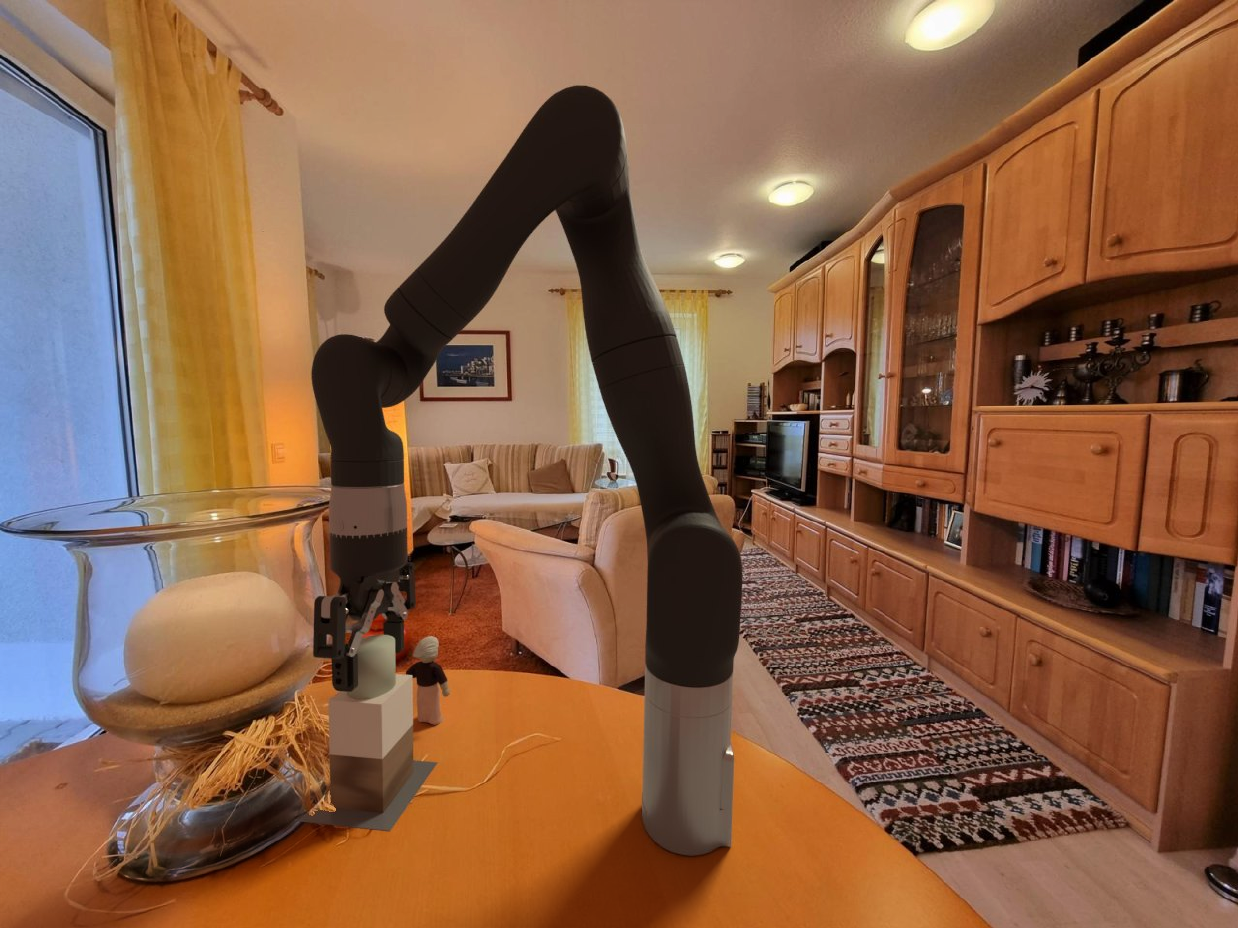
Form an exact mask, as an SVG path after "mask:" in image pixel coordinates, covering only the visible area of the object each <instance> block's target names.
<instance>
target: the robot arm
mask: <svg viewBox="0 0 1238 928" xmlns="http://www.w3.org/2000/svg"><path fill="white" fill-rule="evenodd" d="M624 128H625V127H624V123H623V120H622V117H621V114H620V111H619V109H618V107H617V106H616V104H615V103H614V101H613V100H612V99H611V98H610V97H609V96H608V95H606V94H605V92H604V91H601V90H599V89H598V88H596V87H593V86H588V85H572V86H569V87H565V88H563V89H561V90H559V91H557V92H555V93H554V94H552V95H551V96H550V97H549V98H547V99H546V100H545V101H544V102H543V104H541V106H540V107H539V108H538V109H537V111H536V112H535V113H534V115H533V116H532V117H531V119H530V120H529V122H528V123H527V124H526V126H525V127H524V128H523V130H522V132H521V133H520V135H519V136H518V138H517V139H516V140H515V142H514V143H513V145H512V147H511V148H510V149H509V151H508V152H507V154H506V156H504V159H503V160H502V162H501V163H500V164H499V165H498V167H497V169H496V170H495V171H494V172H493V174H492V175H491V177H490V179H489V180H488V182H486V184H485V185H484V187H483V189H481V191H480V192H479V194H478V195H477V196H476V198H475V199H474V201H473V202H472V204H471V205H470V207H469V208H468V209H467V210H466V212H465V213H464V214H463V215H462V217H461V218H460V220H459V221H458V222H457V224H456V225H455V227H454V228H453V229H452V230H451V231H450V232H449V234H448V235H447V236H446V237H445V238H444V239H443V241H442V242H441V243H439V245H438V246H437V247H436V248H435V249H434V251H433V252H431V253H430V255H428V256H427V257H426V258H425V259H424V260H423V261H422V263H421V264H419V265H418V267H416V269H415V270H414V271H412V272H411V274H410V275H408V277H407V278H406V279H405V280H404V281H403V282H402V283H401V284H400V285H399V286H398V287H397V288H396V289H395V290H394V291H393V292H392V293H391V294H390V296H389V297H388V299H387V300H386V302H385V304H384V307H383V310H384V311H383V312H384V313H383V314H384V316H385V318H386V320H387V322H388V323H389V325H388V327H387V329H386V330H385V332H384V333H383V335H382V336H381V337H380V338H379V339H377V341H374V340H371V339H368V338H364V337H362V336H359V335H354V334H346V333H345V334H343V333H342V334H336V335H333V336H331V337H328V338H327V339H326V340H325V341H323V342H322V343H321V345H320V346H319V347H318V349H317V351H316V353H315V355H314V358H313V361H312V364H311V366H312V367H311V374H310V376H311V385H312V391H313V394H314V398H315V402H316V405H317V408H318V412H319V416H320V419H321V422H322V425H323V428H324V429H323V430H324V431H325V434H326V437H327V440H328V442H329V445H330V485H331V487H330V498H329V502H328V503H329V504H328V525H329V527H328V530H329V565H330V566H329V568H330V571H331V572H332V573H333V574H335V575H337V577H338V579H339V587H338V590H337V593H335V594H333V595H330V596H327V595H318V596H317V597H316V598H315V600H314V603H313V640H312V641H313V647H312V648H313V649H312V656H313V657H314V658H317V659H330V660H331V678H332V679H331V683H332V684H331V685H332V688H333V689H334V690H335V691H337V692H339V691H345V692H351V691H353V690H354V689H355V688H356V687H357V686H358V654H356V652H357V649H358V646H359V644H360V641H361V638H363V636H364V635H366V634H367V633H368V632H369V631H370V629H371V626H372V623H373V621H374V620H376V619H377V618H378V616H379V615H382V617H383V618H384V619H385V621H383V623H382V624H383V625H382V626H383V627H382V629H383V631H382V632H383V634H382V635H389V636H392V637H394V638H395V654H400V653H401V652H402V651H404V650H405V620H407V618H408V617H409V616H408V615H409V610H414V609H415V607H416V605H417V603H416V601H417V599H416V596H417V595H416V579H415V577H416V576H415V575H416V574H415V563H414V562H408V559H409V556H408V555H409V553H408V547H409V546H408V504H407V503H408V502H407V501H408V500H407V495H406V490H405V451H404V442H403V439H402V437H400V435H399V434H398V433H396V432H394V431H393V430H390V429H389V428H388V427H387V425H386V419H385V415H384V411H383V409H385V408H386V409H387V408H391V407H395V406H397V405H399V404H401V403H402V402H404V401H406V400H407V399H409V397H410V396H411V395H413V394H414V393H415V391H416V390H417V389H419V388H420V386H421V384H422V383H423V382H424V380H425V379H426V377H427V375H428V374H429V372H430V371H431V370H432V368H433V366H434V364H435V363H436V362H437V359H438V358H439V355H440V354H441V353H442V350H443V349H444V348H445V347H446V346H447V345H448V344H450V342H451V341H453V340H454V338H456V336H458V335H459V334H460V333H461V331H463V330H464V329H465V328H466V326H468V325H469V324H470V323H471V322H472V321H473V320H474V319H475V318H476V317H477V316H478V314H480V312H482V310H483V309H484V308H485V307H486V306H487V304H488V303H489V302H490V300H491V299H492V297H493V296H494V295H495V293H496V291H497V290H498V288H499V286H500V284H501V283H502V282H503V280H504V278H505V275H506V274H507V272H508V269H509V268H510V266H511V265H512V262H514V259H515V258H516V256H517V255H518V253H519V252H520V249H521V248H522V247H523V245H524V244H525V243H526V241H527V240H528V239H529V237H530V236H531V235H532V234H533V232H534V231H535V230H536V229H537V228H538V227H539V226H540V224H541V223H543V222H544V221H545V220H546V219H547V218H548V217H549V216H550V215H551V214H552V213H553V212H555V213H556V214H557V217H558V219H559V222H560V224H561V226H562V229H563V233H564V234H565V237H566V239H567V242H568V246H569V248H570V250H571V251H570V252H571V253H572V256H573V259H574V262H575V265H576V268H577V272H578V276H579V283H580V284H579V285H580V290H581V291H580V292H581V301H582V302H581V303H582V312H583V313H582V314H583V321H584V322H583V323H584V331H585V335H586V337H585V338H586V341H587V346H588V351H589V356H590V360H591V363H592V368H593V371H594V374H595V378H596V383H597V385H598V389H599V392H600V396H601V399H602V403H603V405H604V408H605V410H606V414H607V417H608V418H609V421H610V424H611V427H612V428H613V431H614V433H615V435H616V438H617V441H618V443H619V445H620V447H621V449H622V451H623V453H624V456H625V457H626V460H627V462H628V464H629V467H630V469H631V472H632V474H633V477H634V481H635V484H636V489H637V493H638V497H639V501H640V502H639V503H640V507H641V514H642V517H643V523H644V525H643V526H644V529H645V531H644V532H645V536H646V537H645V538H646V551H647V553H646V554H647V571H646V572H647V575H646V581H647V582H646V627H645V628H646V629H645V645H644V646H645V650H644V651H645V652H644V653H645V654H644V655H645V657H644V663H645V665H644V702H643V703H644V704H643V706H644V708H643V709H644V710H643V712H644V713H643V714H644V715H643V747H642V749H643V751H642V752H643V753H642V793H641V807H642V808H641V809H642V810H641V816H642V817H641V818H642V823H643V826H644V830H646V832H647V834H648V836H650V838H651V839H652V840H653V841H654V842H655V843H656V844H658V845H659V846H660V847H662V848H664V849H665V850H667V851H669V852H671V853H673V854H679V855H682V856H692V857H693V856H702V855H705V854H708V853H712V852H713V851H714V850H716V849H718V848H719V847H729V848H730V847H731V846H732V839H733V837H732V836H733V835H732V834H733V833H732V832H733V807H734V806H733V805H734V804H733V803H734V776H735V775H734V774H735V772H734V771H735V754H734V748H733V745H732V721H733V720H732V717H733V716H732V715H733V689H734V688H733V687H734V665H735V663H734V662H735V661H734V660H735V656H736V654H737V652H738V648H739V645H740V644H739V642H740V635H741V634H740V633H741V632H740V631H741V630H740V629H741V617H742V616H741V615H742V614H741V613H742V598H743V595H742V594H743V562H742V557H741V553H740V550H739V548H738V546H737V544H736V542H735V541H734V539H733V538H732V536H731V535H730V534H729V532H727V530H726V529H725V528H724V527H723V525H722V524H721V522H720V520H719V517H718V516H717V513H716V510H715V507H714V506H713V503H712V500H711V498H710V496H709V495H710V494H709V491H708V489H707V486H706V483H705V481H704V478H703V474H702V472H701V471H702V470H701V468H700V464H699V459H698V454H697V448H696V437H695V435H696V434H695V426H694V424H695V423H694V413H693V405H692V398H691V391H690V386H689V381H688V375H687V372H686V371H687V370H686V367H685V362H684V359H683V355H682V352H681V347H680V344H679V340H678V337H677V333H676V330H675V328H674V324H673V321H672V318H671V316H670V313H669V311H668V307H667V306H666V303H665V301H664V298H663V295H662V294H661V292H660V290H659V288H658V285H657V283H656V281H655V280H654V277H653V275H652V273H651V271H650V269H649V267H648V265H647V262H646V259H645V257H644V254H643V253H644V252H643V251H642V246H641V242H640V237H639V233H638V229H637V222H636V217H635V212H634V205H633V199H632V192H631V183H630V181H631V180H630V167H629V157H628V149H627V147H628V145H627V139H626V138H627V137H626V133H625V129H624ZM402 592H404V593H406V598H404V596H403V595H402ZM348 617H349V618H350V619H351V620H353V621H358V622H356V623H355V622H347V619H348ZM346 634H350V638H349V639H348V642H347V643H346ZM328 636H331V638H330V641H329V643H328V640H327V639H328Z"/></svg>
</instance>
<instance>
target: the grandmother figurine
mask: <svg viewBox="0 0 1238 928" xmlns="http://www.w3.org/2000/svg"><path fill="white" fill-rule="evenodd" d="M439 643H440V642H439V640H438V638H437V637H435V636H432V635H429V636H426V637H424V638H422V639H421V640H420V641H418V643H417V644H416V647H414V651H413V654H412V655H413V657H414V658H415V659H416V658H418V659H419V660H420V661H418V662H415V663H414V664H412V665H410V667H409V668H408V669H407V670H406V671H405V675H412V678H413V679H416V685H417V689H416V690H417V691H416V709H417V710H416V711H417V721H418V722H420V723H429V724H431V725H432V726H438V725H439V724H441V723H443V722H445V720H446V718H444V717H442V710H441V708H442V707H441V693H442V696H443V697H448V696H449V695H450V694H451V690H450V688H449V683H448V678H447V676H446V674H445V671H444V670H443V666H441V664H439V663H437V662H435V661H436V659H437V657H438V654H439V649H438V648H439Z"/></svg>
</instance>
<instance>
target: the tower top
mask: <svg viewBox="0 0 1238 928" xmlns="http://www.w3.org/2000/svg"><path fill="white" fill-rule="evenodd" d="M413 680H414V678H412V675H406V674H401V673H400V674H399V673H396V684H395V686H394V688H393V689H391V690H390V691H389V692H387V693H385V694H383V695H381V696H378V697H375V698H370V699H353V698H351V697H349V696H348V695H347V692H345V691H337V692H336V694H334V695H333V696H331V698H329V699H328V701H327V705H328V740H329V741H328V742H329V747H328V748H329V755H330V754H332V755H343V756H354V757H365V758H376V759H383V758H384V757H385V756H386V755H387V753H388V752H389V751H390V750H391V749H392V748H393V747H394V745H395V744H396V743H397V742H398V741H399V740H400V739H401V737H402V736H403V735H404V734H405V733H406V732H407V731H408V729H409V728H410V727H411V726H412V725H413V726H414V713H413V712H414V700H413V699H414V697H413V695H414V691H413V688H414V687H413Z"/></svg>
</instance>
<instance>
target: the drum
mask: <svg viewBox="0 0 1238 928" xmlns="http://www.w3.org/2000/svg"><path fill="white" fill-rule="evenodd" d="M356 654H358V686H357V687H356V688H355V689H354V690H353V691H351V692H347V695H348V696H349V697H351V698H353V699H370V698H375V697H378V696H381V695H383V694H385V693H387V692H389V691H390V690H391V689H393V688H394V686H395V684H396V674H397V673H396V666H397V665H396V653H395V638H394V637H392V636H389V635H383V634H372V635H367V636H364V637H363V636H362V638H361V641H360V644H359V646H358V649H357V652H356Z"/></svg>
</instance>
